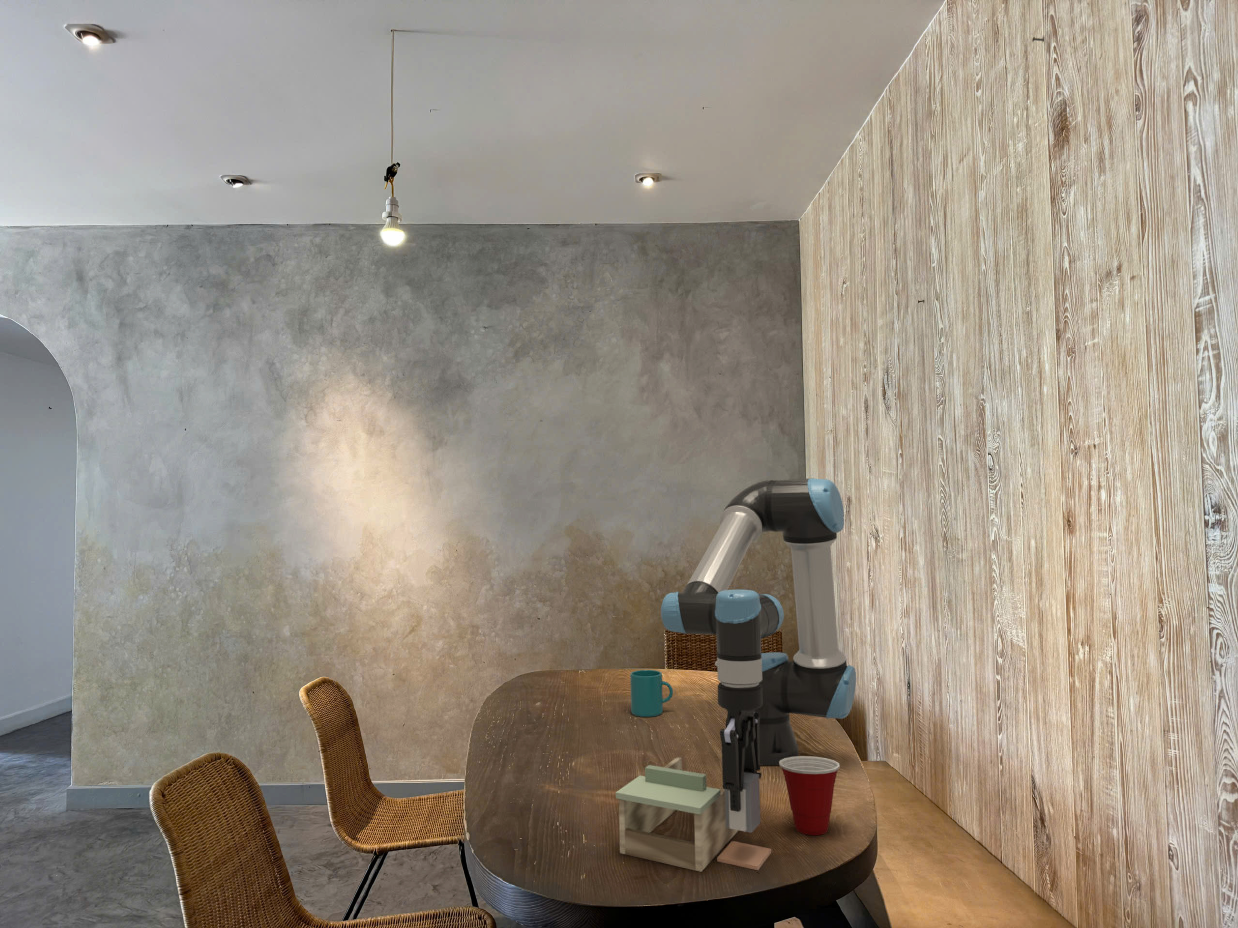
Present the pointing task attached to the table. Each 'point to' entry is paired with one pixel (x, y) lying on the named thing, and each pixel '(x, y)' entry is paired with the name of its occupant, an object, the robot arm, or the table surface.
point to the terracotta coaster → (744, 855)
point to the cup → (647, 693)
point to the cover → (670, 790)
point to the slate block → (748, 801)
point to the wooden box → (668, 850)
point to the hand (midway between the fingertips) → (743, 822)
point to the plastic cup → (810, 791)
